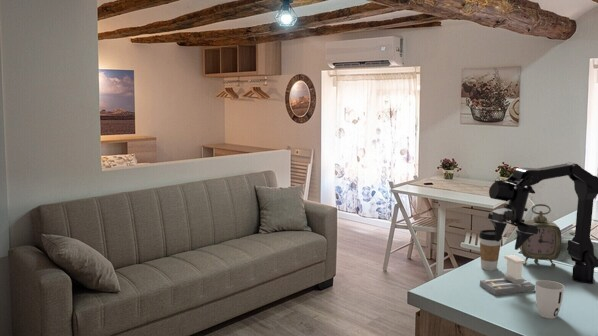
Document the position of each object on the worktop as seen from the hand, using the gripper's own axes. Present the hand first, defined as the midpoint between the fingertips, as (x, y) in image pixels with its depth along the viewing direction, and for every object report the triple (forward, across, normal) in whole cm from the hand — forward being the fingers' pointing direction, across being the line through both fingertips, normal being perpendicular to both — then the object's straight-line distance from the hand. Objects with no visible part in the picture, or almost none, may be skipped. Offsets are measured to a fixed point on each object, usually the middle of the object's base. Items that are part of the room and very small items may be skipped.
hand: (506, 245), depth 187 cm
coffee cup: (+14, -16, +11) cm, 24 cm away
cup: (+15, +25, -2) cm, 29 cm away
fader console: (+15, +3, +2) cm, 15 cm away
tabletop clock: (+10, -12, +32) cm, 35 cm away
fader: (+11, +3, +4) cm, 13 cm away
